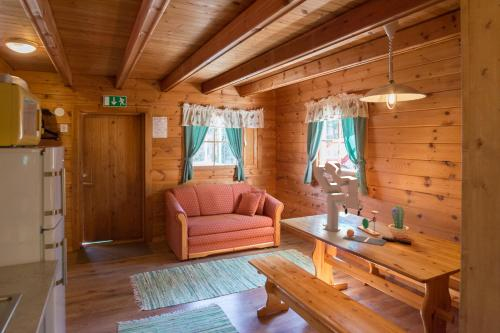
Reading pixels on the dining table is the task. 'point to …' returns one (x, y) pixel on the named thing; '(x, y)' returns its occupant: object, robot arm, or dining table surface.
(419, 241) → the dining table surface
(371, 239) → the mat
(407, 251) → the dining table surface
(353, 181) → the robot arm
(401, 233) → the potted cactus
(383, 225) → the dining table surface
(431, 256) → the dining table surface
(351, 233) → the ball
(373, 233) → the crank mechanism
